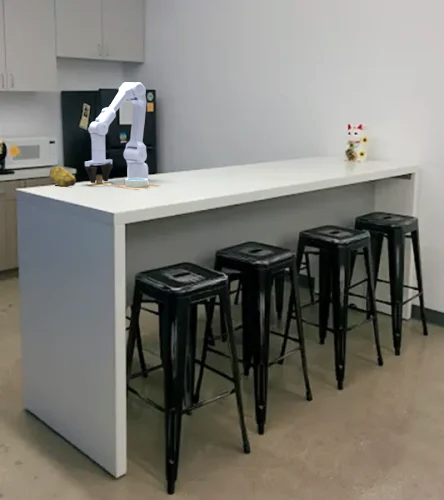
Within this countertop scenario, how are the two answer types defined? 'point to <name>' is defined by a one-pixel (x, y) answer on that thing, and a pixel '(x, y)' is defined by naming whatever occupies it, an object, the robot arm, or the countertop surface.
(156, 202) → the countertop surface
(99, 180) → the lid
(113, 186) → the board
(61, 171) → the potato
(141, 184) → the bowl
